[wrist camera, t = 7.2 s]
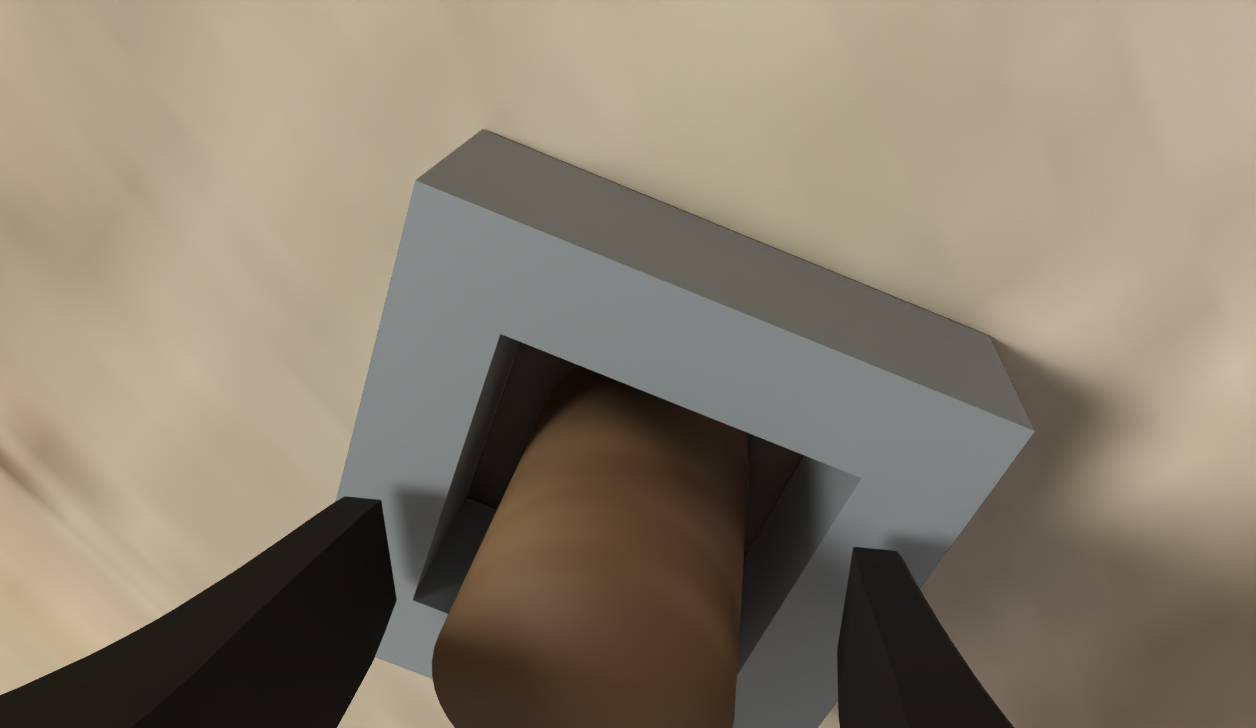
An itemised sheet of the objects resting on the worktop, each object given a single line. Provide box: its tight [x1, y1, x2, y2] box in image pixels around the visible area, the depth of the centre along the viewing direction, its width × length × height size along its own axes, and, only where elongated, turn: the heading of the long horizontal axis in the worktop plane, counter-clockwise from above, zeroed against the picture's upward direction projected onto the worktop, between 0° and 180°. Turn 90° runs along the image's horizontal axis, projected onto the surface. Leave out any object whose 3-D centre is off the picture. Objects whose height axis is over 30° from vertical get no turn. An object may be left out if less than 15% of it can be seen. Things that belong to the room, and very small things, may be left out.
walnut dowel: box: [432, 366, 750, 728], centre depth 14 cm, size 4×4×6 cm
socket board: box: [336, 129, 1035, 728], centre depth 15 cm, size 9×9×3 cm
